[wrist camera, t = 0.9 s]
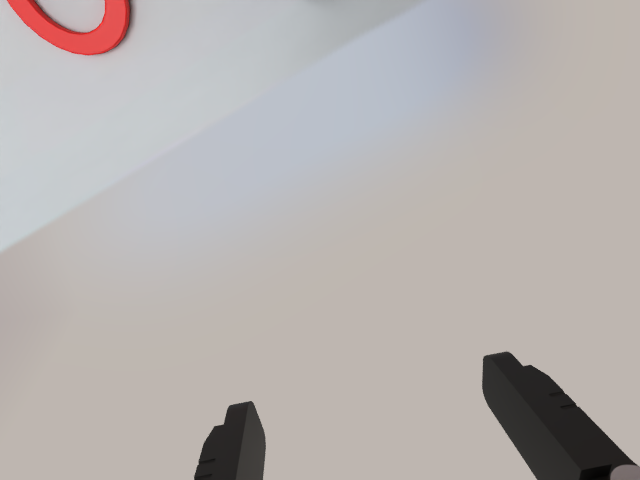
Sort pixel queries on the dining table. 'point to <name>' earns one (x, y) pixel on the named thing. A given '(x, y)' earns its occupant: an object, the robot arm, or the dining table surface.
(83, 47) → the tow hook
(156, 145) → the dining table surface
